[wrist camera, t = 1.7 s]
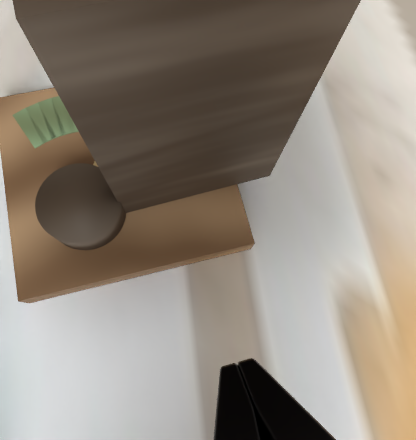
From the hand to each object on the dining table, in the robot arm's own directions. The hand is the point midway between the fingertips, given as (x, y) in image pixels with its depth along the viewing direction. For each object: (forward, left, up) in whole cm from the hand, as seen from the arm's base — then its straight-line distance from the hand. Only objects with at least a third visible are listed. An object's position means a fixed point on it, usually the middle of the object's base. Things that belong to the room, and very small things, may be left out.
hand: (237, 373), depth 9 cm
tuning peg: (+10, -6, -11) cm, 16 cm away
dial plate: (+11, -4, -13) cm, 18 cm away
